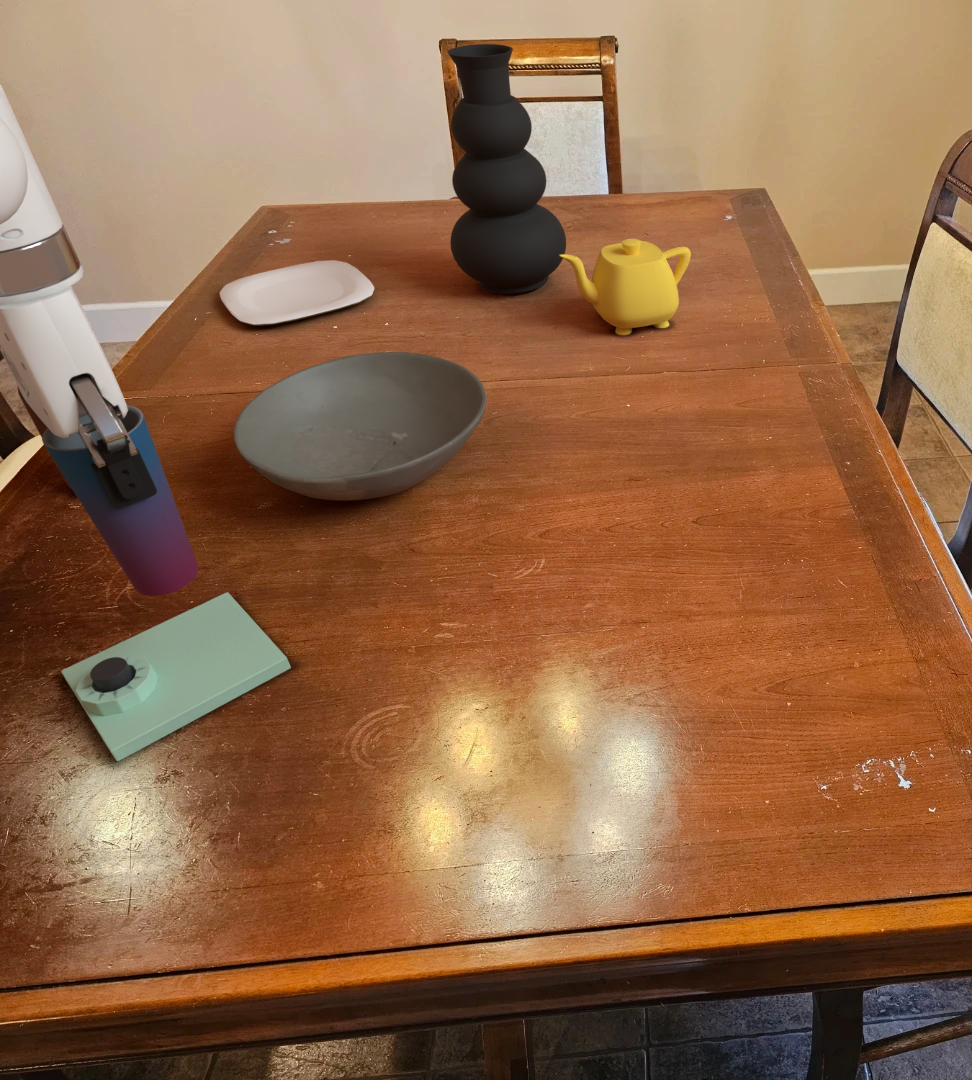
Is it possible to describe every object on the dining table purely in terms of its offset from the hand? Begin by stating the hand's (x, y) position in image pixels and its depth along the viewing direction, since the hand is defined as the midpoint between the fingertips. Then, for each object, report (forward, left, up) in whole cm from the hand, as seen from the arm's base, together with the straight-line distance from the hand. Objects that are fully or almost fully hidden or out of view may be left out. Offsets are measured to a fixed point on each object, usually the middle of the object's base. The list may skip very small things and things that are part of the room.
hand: (119, 481), depth 73 cm
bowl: (+28, +18, -20) cm, 39 cm away
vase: (+72, +52, -20) cm, 91 cm away
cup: (0, 0, -10) cm, 10 cm away
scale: (-2, 0, -20) cm, 20 cm away
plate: (+44, +72, -20) cm, 87 cm away
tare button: (-7, 0, -17) cm, 19 cm away
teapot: (+76, +27, -20) cm, 83 cm away
